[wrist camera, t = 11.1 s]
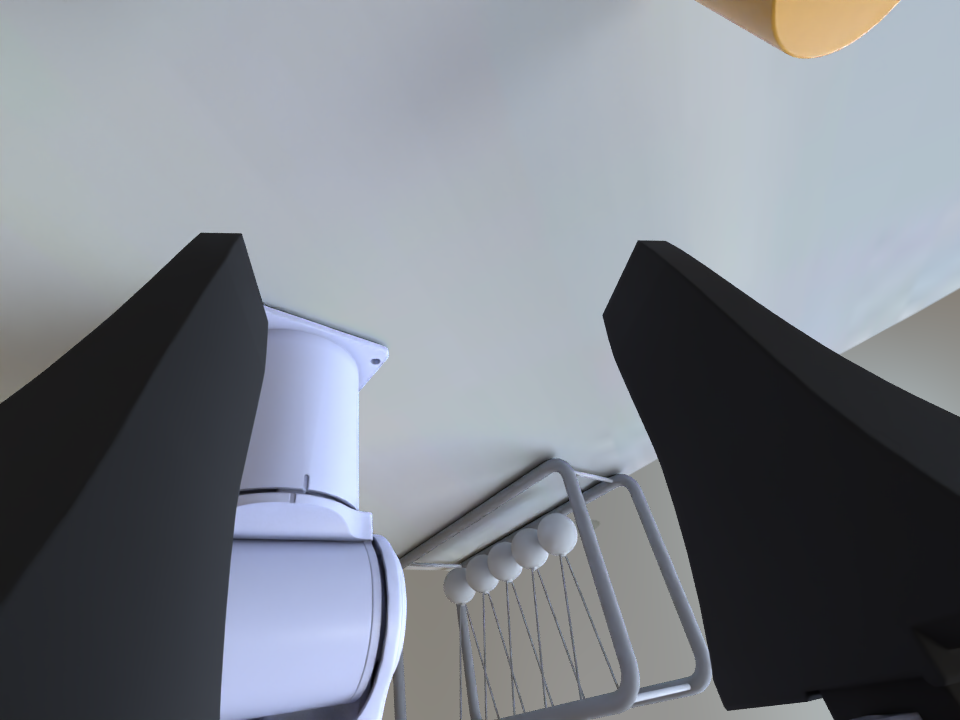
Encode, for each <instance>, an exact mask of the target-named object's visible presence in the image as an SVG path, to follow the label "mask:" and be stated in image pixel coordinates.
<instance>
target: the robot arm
mask: <svg viewBox="0 0 960 720" xmlns="http://www.w3.org/2000/svg"><path fill="white" fill-rule="evenodd" d="M603 319H604V323H605V327H606V331H607V335H608V339H609V342H610V346H611V349H612V352H613V356H614V358H615V361H616V363H617V366H618V368H619V370H620V373H621V375H622V377H623V380H624V382H625V384H626V387H627V389H628V391H629V393H630V395H631V398H632V400H633V402H634V404H635V407H636V409H637V411H638V413H639V416H640V418H641V420H642V422H643V424H644V427H645V429H646V431H647V433H648V436H649V438H650V440H651V442H652V445H653V447H654V449H655V452H656V454H657V457H658V459H659V462H660V465H661V467H662V470H663V473H664V476H665V480H666V483H667V486H668V489H669V492H670V495H671V498H672V501H673V505H674V507H675V511H676V515H677V518H678V522H679V525H680V529H681V532H682V536H683V539H684V543H685V546H686V550H687V553H688V558H689V562H690V566H691V570H692V574H693V579H694V583H695V587H696V591H697V595H698V599H699V604H700V608H701V614H702V619H703V624H704V629H705V635H706V640H707V644H708V650H709V656H710V662H711V668H712V674H713V680H714V683H715V686H716V688H717V690H718V693H719V695H720V698H721V700H722V703H723V705H724V707H725V708H726V710H727V711H730V710H739V709H747V708H756V707H765V706H774V705H782V704H791V703H800V702H808V701H812V700H816V699H820V698H823V699H824V701H825V703H826V705H827V707H828V709H829V711H830V713H831V715H832V717H833V719H834V720H960V417H959V416H957V415H954V414H952V413H950V412H948V411H946V410H944V409H942V408H940V407H938V406H935V405H934V404H931V403H929V402H927V401H925V400H923V399H921V398H919V397H917V396H915V395H913V394H911V393H909V392H907V391H905V390H903V389H901V388H899V387H897V386H895V385H893V384H891V383H889V382H887V381H885V380H883V379H882V378H880V377H878V376H876V375H875V374H873V373H871V372H869V371H867V370H865V369H864V368H862V367H860V366H858V365H856V364H854V363H853V362H851V361H849V360H847V359H845V358H844V357H842V356H840V355H839V354H837V353H835V352H834V351H832V350H830V349H829V348H827V347H825V346H824V345H822V344H820V343H819V342H817V341H816V340H814V339H813V338H811V337H809V336H808V335H806V334H805V333H803V332H802V331H800V330H798V329H797V328H795V327H794V326H792V325H791V324H789V323H788V322H786V321H785V320H783V319H782V318H780V317H779V316H777V315H776V314H774V313H773V312H771V311H770V310H768V309H767V308H765V307H764V306H762V305H761V304H759V303H758V302H756V301H755V300H754V299H752V298H751V297H749V296H748V295H746V294H745V293H744V292H742V291H741V290H739V289H738V288H736V287H735V286H734V285H732V284H731V283H729V282H728V281H726V280H725V279H724V278H722V277H721V276H719V275H718V274H716V273H715V272H714V271H712V270H711V269H709V268H708V267H706V266H705V265H704V264H702V263H701V262H699V261H698V260H696V259H695V258H693V257H692V256H690V255H689V254H687V253H685V252H684V251H682V250H681V249H679V248H677V247H676V246H674V245H672V244H670V243H668V242H667V241H640V240H638V241H637V244H636V246H635V248H634V250H633V252H632V254H631V256H630V258H629V260H628V262H627V265H626V267H625V269H624V271H623V273H622V275H621V277H620V279H619V281H618V284H617V286H616V288H615V290H614V292H613V294H612V296H611V298H610V300H609V303H608V305H607V307H606V309H605V311H604V313H603ZM388 356H389V352H388V349H387V347H385V346H382V345H379V344H376V343H373V342H370V341H368V340H365V339H362V338H359V337H356V336H353V335H350V334H347V333H344V332H341V331H338V330H335V329H332V328H329V327H326V326H323V325H320V324H317V323H315V322H312V321H309V320H306V319H303V318H300V317H297V316H294V315H291V314H288V313H285V312H282V311H279V310H276V309H273V308H270V307H267V306H265V305H263V302H262V299H261V296H260V293H259V289H258V286H257V283H256V279H255V276H254V273H253V269H252V266H251V263H250V259H249V256H248V253H247V250H246V246H245V243H244V240H243V236H242V234H239V233H200V234H199V235H198V236H197V237H195V238H194V239H193V240H192V241H191V242H190V243H189V244H188V245H186V246H185V247H184V248H183V249H182V250H181V251H180V252H179V253H178V254H177V255H176V256H175V257H174V258H173V259H172V260H171V261H170V262H169V263H168V264H166V265H165V266H164V267H163V268H162V269H161V270H160V271H159V272H158V273H157V274H156V275H155V276H154V277H153V278H152V279H151V280H150V281H149V282H147V283H146V284H145V285H144V286H143V287H142V288H141V289H140V290H139V291H138V292H136V293H135V294H134V295H133V296H132V297H131V298H130V299H129V300H128V301H127V302H126V303H124V304H123V305H122V306H121V307H120V308H119V309H118V310H117V311H116V312H115V313H114V314H112V315H111V316H110V317H109V318H108V319H107V320H105V321H104V322H103V323H102V324H101V325H99V326H98V327H97V328H96V329H95V330H93V331H92V332H91V333H90V334H89V335H87V336H86V337H85V338H84V339H83V340H81V341H80V342H79V343H78V344H76V345H75V346H74V347H73V348H72V349H70V350H69V351H68V352H67V353H66V354H64V355H63V356H62V357H61V358H60V359H58V360H57V361H56V362H55V363H53V364H52V365H51V366H50V367H49V368H47V369H46V370H45V371H44V372H42V373H41V374H40V375H38V376H37V377H36V378H34V379H33V380H32V381H30V382H29V383H28V384H26V385H25V386H24V387H22V388H21V389H20V390H18V391H17V392H16V393H14V394H13V395H12V396H10V397H9V398H8V399H6V400H5V401H3V402H2V403H0V720H382V714H383V709H384V705H385V699H386V696H387V692H388V688H389V685H390V681H391V678H392V675H393V674H394V672H395V670H396V667H397V665H398V662H399V659H400V655H401V651H402V647H403V642H404V635H405V627H406V605H407V604H406V588H405V580H404V575H403V570H402V567H401V564H400V561H399V559H398V557H397V555H396V554H395V552H394V550H393V548H392V546H391V544H390V543H389V542H388V540H387V539H386V538H385V537H383V536H382V535H377V534H373V531H372V513H371V512H363V511H359V391H360V390H361V389H362V388H363V386H364V385H365V384H366V383H367V382H368V381H369V379H370V378H371V377H372V376H373V375H374V374H375V372H376V371H377V370H378V369H379V368H380V367H381V365H382V364H383V363H384V362H385V361H386V360H387V358H388ZM374 358H376V359H374Z"/></svg>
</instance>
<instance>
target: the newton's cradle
mask: <svg viewBox="0 0 960 720" xmlns="http://www.w3.org/2000/svg"><path fill="white" fill-rule="evenodd" d="M553 472H559V473H560V474H561V476H562V478H563V481H564V484H565V487H566V491H567V494H568V497H569V500H570V501H568V502H566V503H564V504H563V505H561V506H559V507H557V508H556V509H554V510H552V511H550V512H549V513H547V514H545V515H544V516H542V517H540V518H538V519H537V520H535V521H533V522H531V523H530V524H528V525H526V526H524V527H523V528H521V529H519V530H517V531H516V532H514V533H512V534H511V535H509V536H507V537H505V538H504V539H502V540H500V541H498V542H497V543H495V544H493V545H491V546H490V547H488V548H486V549H484V550H483V551H481V552H479V553H478V554H476V555H474V556H472V557H471V558H469V559H467V560H465V561H464V562H462V563H461V564H436V563H413V562H414V561H416V560H417V559H419V558H420V557H422V556H423V555H425V554H427V553H428V552H430V551H431V550H433V549H434V548H436V547H437V546H439V545H441V544H442V543H444V542H445V541H447V540H448V539H450V538H451V537H453V536H455V535H456V534H458V533H459V532H461V531H462V530H464V529H466V528H467V527H469V526H470V525H472V524H473V523H475V522H476V521H478V520H480V519H481V518H483V517H484V516H486V515H487V514H489V513H490V512H492V511H494V510H495V509H497V508H498V507H500V506H501V505H503V504H504V503H506V502H508V501H509V500H511V499H512V498H514V497H515V496H517V495H519V494H520V493H522V492H523V491H525V490H526V489H528V488H529V487H531V486H533V485H534V484H536V483H537V482H539V481H540V480H542V479H543V478H545V477H547V476H548V475H550V474H551V473H553ZM576 475H577V476H582V477H586V478H591V479H596V480H600V481H603V482H601V483H599V484H597V485H596V486H594V487H592V488H590V489H589V490H587V491H585V492H583V493H582V492H581V489H580V486H579V483H578V480H577V477H576ZM619 486H625V487H626V488H627V489H628V490H629V492H630V494H631V497H632V499H633V502H634V504H635V507H636V509H637V512H638V514H639V516H640V519H641V522H642V524H643V527H644V529H645V532H646V534H647V537H648V540H649V542H650V544H651V547H652V550H653V552H654V555H655V557H656V560H657V562H658V565H659V567H660V570H661V572H662V575H663V577H664V580H665V582H666V585H667V588H668V590H669V592H670V595H671V597H672V600H673V603H674V605H675V608H676V610H677V613H678V615H679V618H680V620H681V623H682V626H683V627H684V631H685V633H686V636H687V638H688V641H689V643H690V645H691V648H692V651H693V653H694V656H695V660H696V668H695V672H694V673H693V675H692V676H689V677H686V678H682V679H678V680H673V681H669V682H664V683H660V684H656V685H652V686H647V687H643V688H640V686H639V685H640V674H639V670H638V665H637V661H636V658H635V655H634V652H633V648H632V646H631V643H630V639H629V636H628V633H627V630H626V627H625V624H624V621H623V618H622V615H621V612H620V609H619V606H618V602H617V599H616V596H615V593H614V590H613V587H612V584H611V581H610V578H609V575H608V572H607V569H606V566H605V563H604V560H603V556H602V553H601V550H600V547H599V544H598V541H597V538H596V535H595V532H594V529H593V526H592V523H591V520H590V517H589V513H588V510H587V508H586V504H587V503H589V502H591V501H593V500H595V499H597V498H598V497H600V496H602V495H604V494H606V493H607V492H609V491H611V490H613V489H615V488H616V487H619ZM571 512H573V513H574V517H575V520H576V523H577V527H578V530H579V533H580V537H581V540H582V543H583V546H584V549H585V553H586V556H587V559H588V563H589V566H590V569H591V573H592V576H593V579H594V583H595V586H596V589H597V592H598V596H599V599H600V602H601V606H602V609H603V612H604V615H605V619H606V622H607V625H608V629H609V632H610V635H611V638H612V642H613V645H614V648H615V651H616V655H617V658H618V661H619V664H620V669H621V683H620V687H618V684H617V682H616V679H615V677H614V674H613V671H612V669H611V666H610V664H609V661H608V659H607V657H606V654H605V651H604V649H603V646H602V644H601V641H600V639H599V636H598V634H597V631H596V629H595V626H594V624H593V621H592V619H591V616H590V614H589V611H588V608H587V606H586V603H585V601H584V598H583V596H582V593H581V591H580V589H579V586H578V583H577V581H576V578H575V576H574V573H573V571H572V568H571V566H570V563H569V561H568V558H567V556H566V554H567V553H569V552H570V551H571V550H572V549H573V548H574V546H575V544H576V542H577V530H576V527H575V525H574V523H573V522H572V520H570V518H568V517H567V516H566V515H568V514H569V513H571ZM549 553H550V554H552V555H556V556H560V563H561V569H562V577H563V584H564V591H565V598H566V605H567V612H568V618H569V625H570V632H571V639H572V646H573V653H574V660H575V667H576V672H575V669H574V666H573V664H572V661H571V658H570V655H569V653H568V650H567V647H566V644H565V642H564V639H563V636H562V633H561V631H560V628H559V625H558V622H557V620H556V617H555V614H554V612H553V608H552V606H551V603H550V600H549V598H548V595H547V592H546V589H545V586H544V584H543V581H542V578H541V575H540V573H539V570H538V567H540V566H542V565H543V564H544V563H545V561H546V560H547V558H548V554H549ZM561 557H565V558H566V560H567V563H568V565H569V568H570V570H571V573H572V575H573V578H574V580H575V583H576V586H577V588H578V591H579V593H580V595H581V598H582V601H583V603H584V606H585V608H586V611H587V613H588V616H589V618H590V621H591V623H592V626H593V628H594V631H595V633H596V636H597V639H598V641H599V644H600V646H601V649H602V651H603V654H604V656H605V659H606V661H607V664H608V666H609V669H610V671H611V674H612V676H613V679H614V682H615V684H616V687H617V689H618V690H616V691H615V692H612V693H607V694H603V695H599V696H594V697H590V698H586V699H585V697H584V694H583V691H582V689H581V686H580V681H579V674H578V667H577V660H576V654H575V647H574V640H573V633H572V626H571V619H570V613H569V606H568V599H567V592H566V585H565V578H564V571H563V565H562V558H561ZM399 561H400V564H401V567H402V569H403V568H405V567H406V566H422V567H450V568H455V569H453V570H451V571H450V572H449V573H448V574H447V576H446V577H445V580H444V592H445V595H446V597H447V598H448V599H449V600H450V601H451V602H453V603H456V605H457V614H458V621H459V629H460V720H462V702H461V701H462V698H461V697H462V690H461V689H462V688H461V646H462V654H463V661H464V671H465V678H466V687H467V695H468V703H469V711H470V716H471V720H482V718H481V715H480V710H479V702H478V695H477V687H476V680H475V673H474V665H473V659H472V650H471V643H470V635H469V628H468V620H467V614H468V617H469V621H470V624H471V628H472V631H473V634H474V638H475V641H476V645H477V648H478V651H479V655H480V659H481V662H482V665H483V669H484V675H485V676H484V677H485V718H486V719H485V720H487V693H486V679H487V683H488V686H489V689H490V693H491V696H492V700H493V703H494V707H495V710H496V713H497V717H498V719H497V720H590V719H595V718H600V717H605V716H609V715H615V714H619V713H622V712H624V711H626V710H628V709H630V708H633V707H638V706H643V705H648V704H653V703H658V702H662V701H667V700H672V699H676V698H682V697H687V696H691V695H696V694H698V693H700V692H702V691H704V690H705V689H706V687H707V686H708V685H709V683H710V680H711V677H712V668H711V662H710V656H709V650H708V648H707V646H706V643H705V641H704V639H703V636H702V634H701V631H700V629H699V626H698V624H697V622H696V619H695V617H694V614H693V612H692V609H691V607H690V605H689V602H688V600H687V598H686V595H685V593H684V590H683V588H682V586H681V583H680V581H679V578H678V576H677V573H676V571H675V569H674V566H673V564H672V562H671V559H670V556H669V554H668V552H667V549H666V547H665V544H664V542H663V540H662V537H661V535H660V532H659V530H658V528H657V525H656V523H655V520H654V518H653V515H652V513H651V511H650V508H649V506H648V504H647V501H646V499H645V496H644V494H643V492H642V489H641V487H640V486H639V484H638V482H637V481H636V480H634V479H633V478H632V477H630V476H628V475H625V474H617V475H614V476H611V477H609V478H606V477H601V476H597V475H592V474H588V473H584V472H579V471H575V470H573V468H572V467H571V466H570V465H569V464H568V463H567V462H566V461H564V460H562V459H550V460H548V461H545V462H544V463H542V464H541V465H539V466H538V467H536V468H535V469H533V470H532V471H530V472H529V473H527V474H526V475H524V476H523V477H521V478H520V479H518V480H517V481H515V482H514V483H512V484H511V485H509V486H508V487H506V488H505V489H503V490H502V491H501V492H499V493H498V494H496V495H495V496H493V497H492V498H490V499H489V500H487V501H486V502H484V503H483V504H481V505H480V506H478V507H477V508H475V509H474V510H472V511H471V512H469V513H468V514H466V515H465V516H463V517H462V518H460V519H459V520H457V521H456V522H454V523H453V524H451V525H450V526H448V527H447V528H445V529H444V530H442V531H441V532H439V533H438V534H436V535H435V536H433V537H432V538H430V539H429V540H427V541H426V542H424V543H423V544H421V545H420V546H418V547H417V548H415V549H414V550H412V551H411V552H409V553H408V554H406V555H405V556H403V557H402V558H400V559H399ZM522 568H526V569H532V581H533V591H534V601H535V611H536V621H537V631H538V642H539V652H540V662H541V666H540V663H539V660H538V657H537V654H536V651H535V648H534V645H533V642H532V639H531V636H530V633H529V629H528V627H527V623H526V620H525V617H524V614H523V611H522V608H521V606H520V602H519V599H518V596H517V593H516V590H515V587H514V584H513V582H512V580H514V579H515V578H517V577H518V576H519V574H520V573H521V571H522ZM536 570H537V572H538V575H539V577H540V580H541V583H542V586H543V588H544V591H545V594H546V597H547V599H548V602H549V605H550V608H551V611H552V613H553V616H554V618H555V621H556V624H557V627H558V630H559V633H560V636H561V638H562V641H563V644H564V647H565V649H566V652H567V655H568V658H569V660H570V663H571V666H572V669H573V671H574V674H575V677H576V680H577V683H578V688H579V695H580V700H577V701H573V702H569V703H565V704H560V705H557V706H554V705H553V702H552V699H551V696H550V693H549V690H548V687H547V684H546V681H545V678H544V674H543V664H542V654H541V644H540V634H539V624H538V615H537V604H536V594H535V584H534V574H533V571H536ZM499 580H500V581H506V592H507V609H508V627H509V645H510V660H509V656H508V653H507V650H506V646H505V643H504V640H503V637H502V633H501V630H500V627H499V623H498V620H497V617H496V613H495V610H494V607H493V603H492V600H491V597H490V594H489V591H491V590H493V589H494V588H495V586H496V585H497V584H498V582H499ZM508 583H512V586H513V589H514V592H515V595H516V598H517V601H518V604H519V607H520V610H521V613H522V616H523V619H524V622H525V625H526V628H527V631H528V635H529V638H530V641H531V643H532V647H533V650H534V653H535V656H536V659H537V662H538V665H539V668H540V671H541V674H542V683H543V693H544V703H545V708H543V709H539V710H535V711H531V712H526V713H525V710H524V706H523V703H522V700H521V696H520V693H519V690H518V686H517V683H516V680H515V676H514V673H513V666H512V650H511V633H510V616H509V599H508ZM476 591H477V592H480V593H483V631H484V663H483V660H482V657H481V653H480V650H479V646H478V643H477V640H476V636H475V633H474V629H473V626H472V622H471V619H470V616H469V612H468V609H467V605H466V603H467V602H469V601H470V600H471V599H472V598H473V596H474V594H475V592H476ZM486 594H488V595H489V599H490V602H491V605H492V609H493V612H494V615H495V618H496V622H497V625H498V629H499V632H500V635H501V638H502V642H503V645H504V649H505V652H506V655H507V659H508V662H509V665H510V669H511V679H512V697H513V712H514V715H513V716H509V717H505V718H501V719H500V718H499V715H498V711H497V708H496V704H495V701H494V698H493V694H492V691H491V687H490V684H489V681H488V677H487V674H486V652H485V609H484V595H486ZM466 610H467V613H466ZM510 662H511V663H510ZM576 674H577V675H576ZM513 679H514V682H515V685H516V688H517V692H518V695H519V699H520V702H521V705H522V709H523V712H524V713H522V714H518V715H515V701H514V684H513ZM393 683H394V708H395V720H406V705H405V684H404V665H403V648H402V651H401V655H400V659H399V662H398V665H397V667H396V670H395V672H394V674H393ZM544 683H545V684H544ZM545 686H546V689H547V692H548V695H549V699H550V702H551V705H552V707H548V708H547V704H546V694H545ZM582 697H583V699H582Z"/></svg>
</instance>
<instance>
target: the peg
mask: <svg viewBox="0 0 960 720" xmlns="http://www.w3.org/2000/svg"><path fill="white" fill-rule="evenodd" d="M695 1H697V2H699V3H700V4H702V5H704V6H705V7H707V8H709V9H711V10H712V11H714V12H716V13H717V14H719V15H721V16H723V17H724V18H726V19H728V20H729V21H731V22H733V23H735V24H736V25H738V26H740V27H742V28H743V29H745V30H747V31H748V32H750V33H752V34H754V35H755V36H757V37H759V38H760V39H762V40H764V41H766V42H767V43H769V44H771V45H772V46H774V47H776V48H778V49H779V50H781V51H783V52H784V53H786V54H788V55H790V56H792V57H797V58H807V59H809V58H816V57H821V56H825V55H828V54H831V53H833V52H836V51H838V50H840V49H842V48H844V47H846V46H848V45H850V44H851V43H853V42H854V41H856V40H857V39H859V38H860V37H862V36H863V35H864V34H866V33H867V32H868V31H870V30H871V29H872V28H873V27H874V26H875V25H877V24H878V23H879V22H880V21H881V20H882V19H883V18H884V17H885V16H886V15H887V14H888V13H889V12H890V11H891V10H892V9H893V8H894V7H895V6H896V5H897V4H898V3H899V1H900V0H695Z"/></svg>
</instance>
